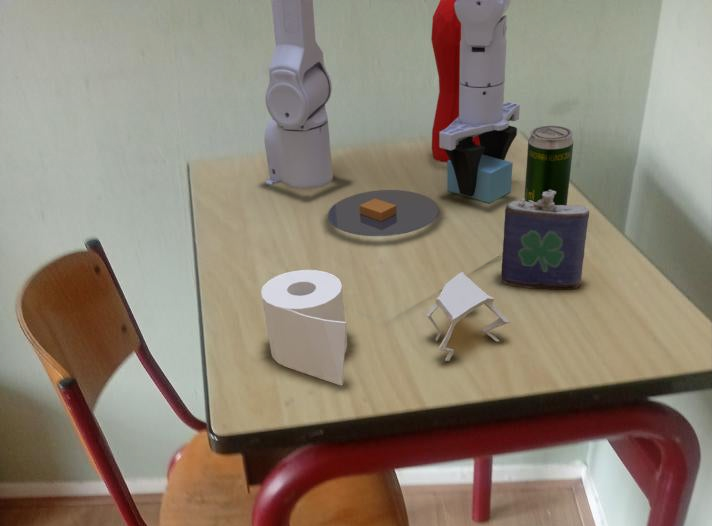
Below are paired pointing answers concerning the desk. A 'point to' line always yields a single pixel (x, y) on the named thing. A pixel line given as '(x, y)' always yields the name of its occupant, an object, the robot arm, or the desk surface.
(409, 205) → the plate
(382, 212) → the orange cardboard box
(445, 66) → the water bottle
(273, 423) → the desk surface
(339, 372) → the toilet paper
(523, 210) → the flask
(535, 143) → the beer can
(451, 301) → the origami figure
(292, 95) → the robot arm
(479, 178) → the sponge
